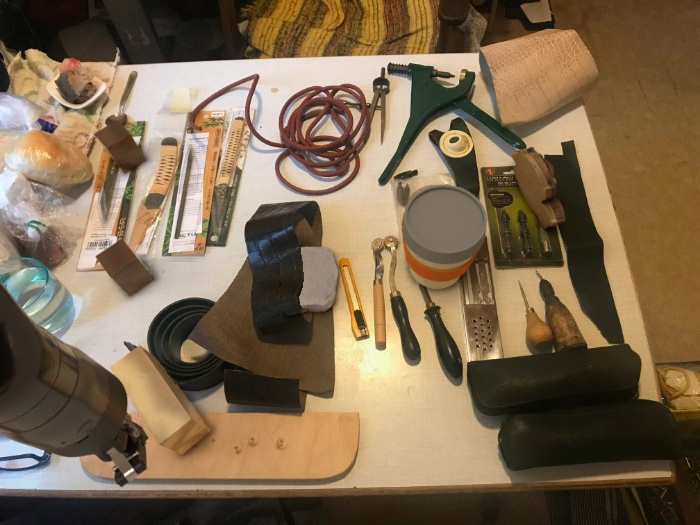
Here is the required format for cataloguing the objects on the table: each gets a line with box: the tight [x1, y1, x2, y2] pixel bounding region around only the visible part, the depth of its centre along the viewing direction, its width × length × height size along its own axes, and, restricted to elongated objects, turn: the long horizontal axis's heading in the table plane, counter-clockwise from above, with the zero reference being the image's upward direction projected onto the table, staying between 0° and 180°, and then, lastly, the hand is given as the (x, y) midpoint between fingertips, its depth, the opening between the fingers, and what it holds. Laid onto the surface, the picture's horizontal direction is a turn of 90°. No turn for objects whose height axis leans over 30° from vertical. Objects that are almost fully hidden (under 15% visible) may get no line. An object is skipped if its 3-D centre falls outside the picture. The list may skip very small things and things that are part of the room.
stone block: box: [299, 246, 339, 313], centre depth 86 cm, size 12×5×10 cm
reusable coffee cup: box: [401, 184, 488, 290], centre depth 81 cm, size 13×13×15 cm
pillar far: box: [94, 119, 147, 175], centre depth 99 cm, size 5×5×8 cm
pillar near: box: [95, 238, 156, 297], centre depth 86 cm, size 5×5×8 cm
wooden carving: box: [511, 146, 566, 230], centre depth 89 cm, size 16×5×10 cm, turn 20°
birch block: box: [109, 344, 211, 455], centre depth 74 cm, size 5×14×9 cm, turn 41°
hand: (137, 439), depth 55 cm, fingers closed
